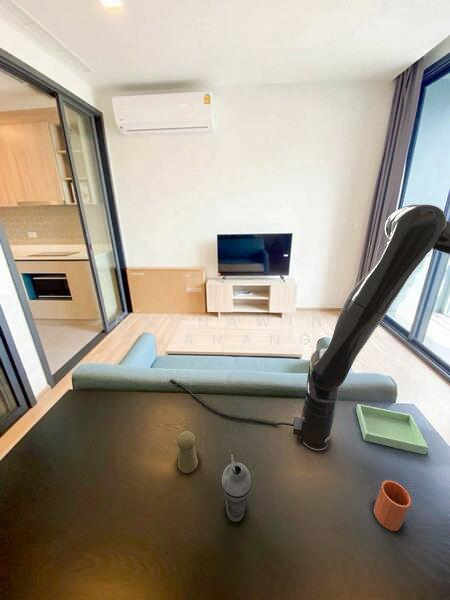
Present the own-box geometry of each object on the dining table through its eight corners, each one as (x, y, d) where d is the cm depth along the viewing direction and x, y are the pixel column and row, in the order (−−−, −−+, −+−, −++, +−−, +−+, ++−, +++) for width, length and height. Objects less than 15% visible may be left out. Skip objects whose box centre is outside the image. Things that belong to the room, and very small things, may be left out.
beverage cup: (248, 532, 58) (251, 475, 51) (218, 524, 60) (217, 468, 53) (251, 498, 65) (254, 444, 58) (224, 492, 66) (224, 439, 59)
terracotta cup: (377, 525, 60) (385, 502, 56) (371, 500, 65) (378, 477, 62) (404, 534, 58) (415, 511, 55) (396, 507, 63) (405, 484, 60)
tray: (363, 440, 82) (365, 433, 81) (356, 410, 94) (357, 403, 93) (425, 454, 77) (428, 447, 76) (408, 421, 89) (411, 414, 88)
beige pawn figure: (201, 458, 76) (200, 432, 72) (191, 476, 70) (189, 449, 67) (185, 450, 78) (183, 424, 74) (173, 467, 73) (171, 440, 69)
